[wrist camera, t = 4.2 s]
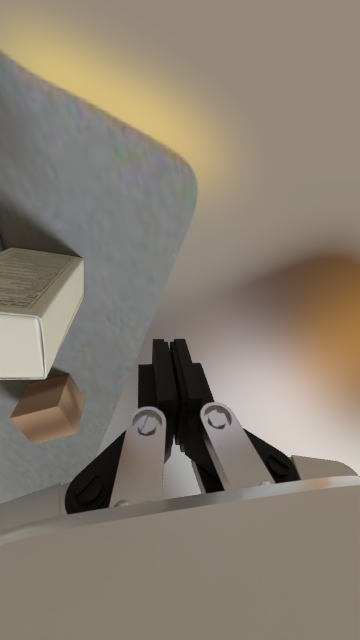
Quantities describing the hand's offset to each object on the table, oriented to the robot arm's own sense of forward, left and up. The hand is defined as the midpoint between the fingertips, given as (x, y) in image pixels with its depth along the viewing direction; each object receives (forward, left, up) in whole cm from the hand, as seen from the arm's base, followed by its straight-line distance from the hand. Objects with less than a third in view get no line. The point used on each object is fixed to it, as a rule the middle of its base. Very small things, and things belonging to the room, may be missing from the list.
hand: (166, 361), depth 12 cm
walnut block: (+16, -12, -14) cm, 24 cm away
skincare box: (0, -10, -14) cm, 17 cm away
